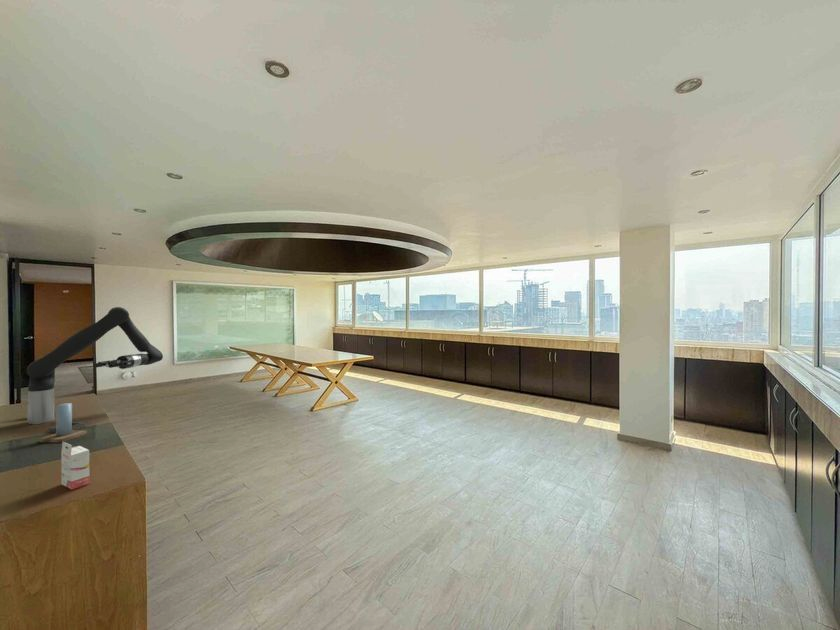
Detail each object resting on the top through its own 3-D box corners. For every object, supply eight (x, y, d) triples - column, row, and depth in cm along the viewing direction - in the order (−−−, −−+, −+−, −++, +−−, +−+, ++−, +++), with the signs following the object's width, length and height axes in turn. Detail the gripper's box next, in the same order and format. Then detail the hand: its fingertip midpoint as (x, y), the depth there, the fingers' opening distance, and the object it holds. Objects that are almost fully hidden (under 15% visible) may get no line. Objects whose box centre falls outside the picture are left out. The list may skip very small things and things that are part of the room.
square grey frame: (48, 432, 167) (48, 428, 167) (68, 426, 176) (68, 422, 176) (65, 432, 167) (65, 428, 167) (84, 426, 176) (84, 422, 176)
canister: (53, 435, 158) (53, 405, 158) (65, 432, 163) (65, 402, 163) (62, 436, 157) (63, 405, 158) (74, 432, 162) (75, 403, 162)
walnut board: (39, 442, 155) (38, 438, 155) (65, 433, 166) (65, 430, 166) (61, 442, 154) (61, 439, 154) (86, 433, 165) (86, 430, 165)
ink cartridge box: (90, 483, 117) (90, 441, 117) (71, 490, 113) (70, 446, 113) (80, 478, 121) (79, 436, 121) (60, 484, 117) (60, 441, 117)
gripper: (117, 354, 199) (89, 358, 183) (140, 355, 199) (114, 358, 182) (117, 367, 200) (89, 372, 183) (140, 367, 199) (114, 372, 183)
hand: (101, 365), depth 183 cm, fingers open, 8 cm apart
